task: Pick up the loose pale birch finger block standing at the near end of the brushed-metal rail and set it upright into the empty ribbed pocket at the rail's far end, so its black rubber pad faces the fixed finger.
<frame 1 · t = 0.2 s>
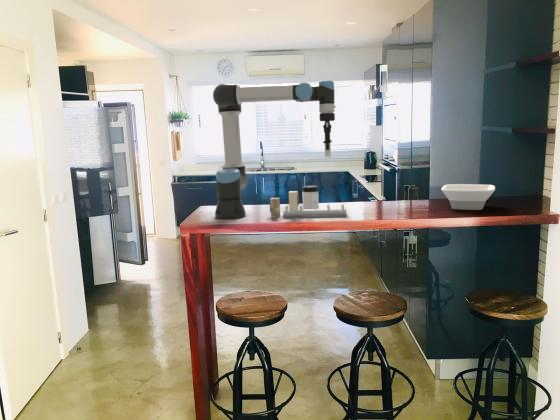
hand: (327, 156, 231), 28 cm above the table, fingers open, 13 cm apart
rail: (314, 215, 221), on the table
jar: (310, 209, 242), on the table
bowl: (467, 207, 228), on the table
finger: (275, 216, 224), on the table
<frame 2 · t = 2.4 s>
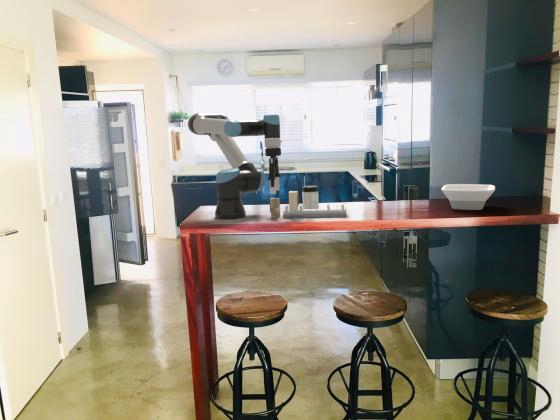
hand: (275, 192, 221), 12 cm above the table, fingers open, 13 cm apart
nothing on the table moved.
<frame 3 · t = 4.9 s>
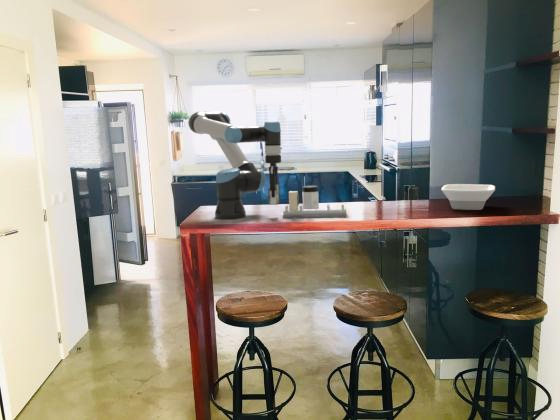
hand: (274, 202, 223), 7 cm above the table, fingers closed on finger, 4 cm apart
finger: (274, 203, 223), point 6 cm above the table, touching gripper
everything else where it was.
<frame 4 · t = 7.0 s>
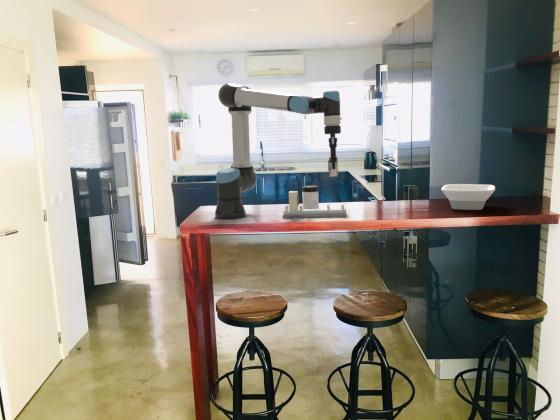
hand: (333, 175, 217), 19 cm above the table, fingers closed on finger, 4 cm apart
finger: (333, 176, 217), point 19 cm above the table, touching gripper
everything else where it was.
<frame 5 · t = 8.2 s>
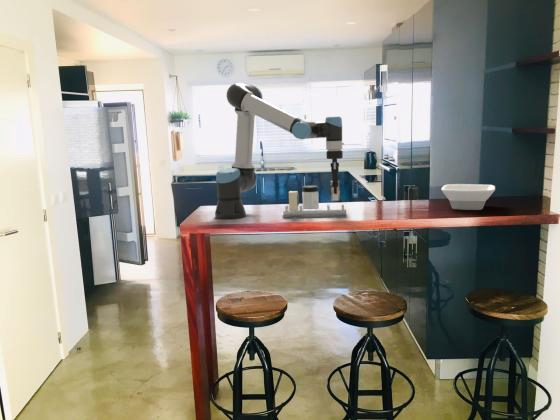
hand: (335, 199, 219), 8 cm above the table, fingers closed on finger, 4 cm apart
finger: (335, 200, 219), point 7 cm above the table, touching gripper
everything else where it was.
when the fingers open (4 cm above the table, at t = 9.3 s): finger stays where it is, resting on rail.
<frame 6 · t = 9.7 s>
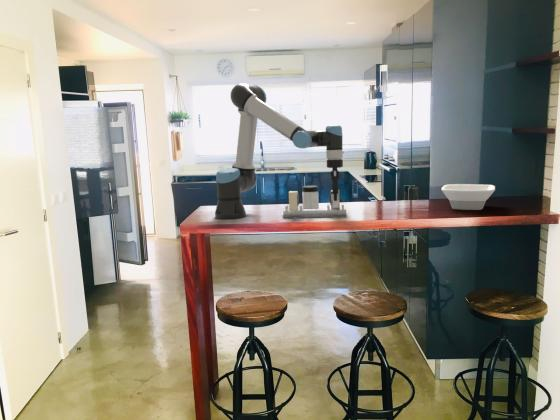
hand: (335, 205, 219), 5 cm above the table, fingers open, 10 cm apart
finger: (335, 209, 220), point 3 cm above the table, touching rail
everything else where it was.
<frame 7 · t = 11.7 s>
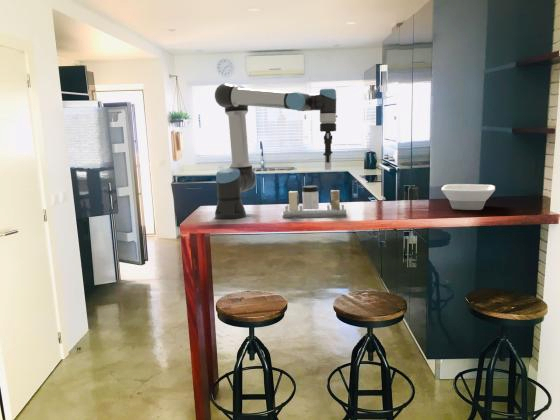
hand: (328, 168, 218), 22 cm above the table, fingers open, 13 cm apart
nothing on the table moved.
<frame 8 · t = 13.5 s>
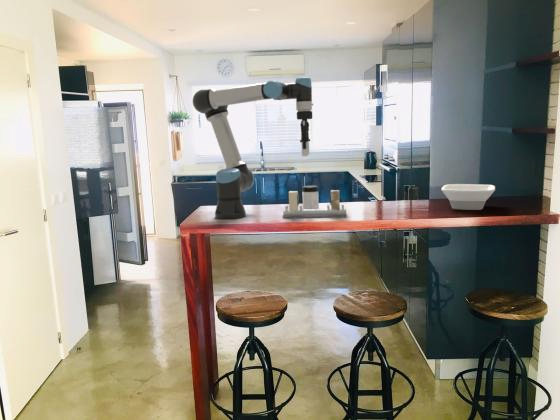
hand: (305, 155, 224), 29 cm above the table, fingers open, 13 cm apart
nothing on the table moved.
at the end: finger 0.1 cm from the target spot on the rail, point 3.0 cm above the rail's base; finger tilted 0°; the gripper is holding nothing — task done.
